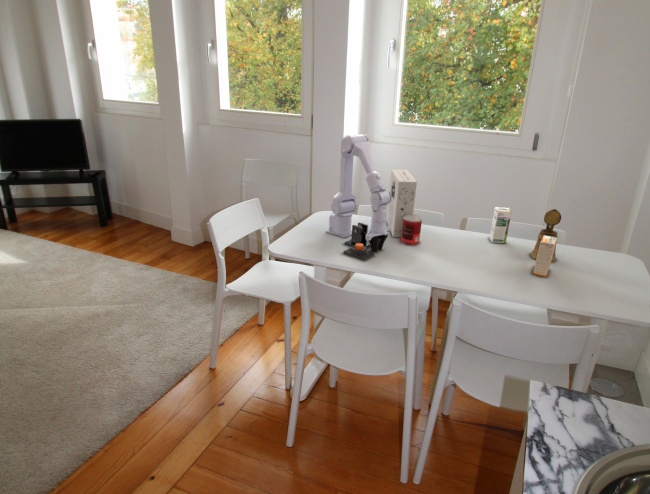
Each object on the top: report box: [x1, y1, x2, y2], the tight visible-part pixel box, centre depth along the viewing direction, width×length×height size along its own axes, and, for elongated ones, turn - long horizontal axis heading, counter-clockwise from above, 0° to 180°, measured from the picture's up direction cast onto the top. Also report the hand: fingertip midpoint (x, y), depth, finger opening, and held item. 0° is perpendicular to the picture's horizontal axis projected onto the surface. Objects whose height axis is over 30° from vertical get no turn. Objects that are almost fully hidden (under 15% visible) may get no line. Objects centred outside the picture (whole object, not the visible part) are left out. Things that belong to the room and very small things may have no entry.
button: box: [355, 243, 363, 250], centre depth 184 cm, size 3×3×2 cm
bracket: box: [344, 221, 371, 249], centre depth 193 cm, size 9×8×9 cm
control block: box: [343, 245, 375, 261], centre depth 185 cm, size 10×7×3 cm
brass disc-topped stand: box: [530, 208, 562, 263], centre depth 186 cm, size 9×14×18 cm, turn 150°
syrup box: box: [489, 206, 512, 244], centre depth 200 cm, size 6×6×14 cm
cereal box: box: [386, 168, 418, 238], centre depth 208 cm, size 22×8×25 cm, turn 179°
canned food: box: [400, 214, 423, 246], centre depth 197 cm, size 8×8×11 cm
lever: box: [357, 224, 368, 237], centre depth 191 cm, size 12×3×3 cm, turn 50°
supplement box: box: [532, 236, 558, 278], centre depth 172 cm, size 8×5×13 cm, turn 148°
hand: (376, 251), depth 190 cm, fingers closed on lever, 3 cm apart
